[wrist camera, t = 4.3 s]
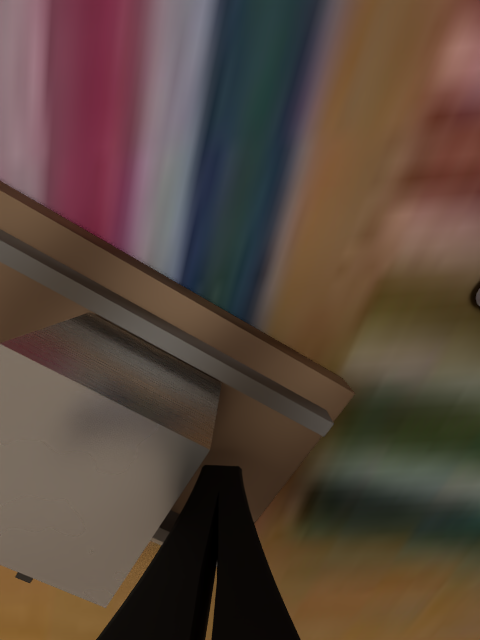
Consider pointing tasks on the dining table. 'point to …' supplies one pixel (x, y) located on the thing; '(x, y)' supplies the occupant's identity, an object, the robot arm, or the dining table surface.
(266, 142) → the dining table surface
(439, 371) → the dining table surface
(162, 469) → the block
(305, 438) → the base
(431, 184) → the dining table surface
